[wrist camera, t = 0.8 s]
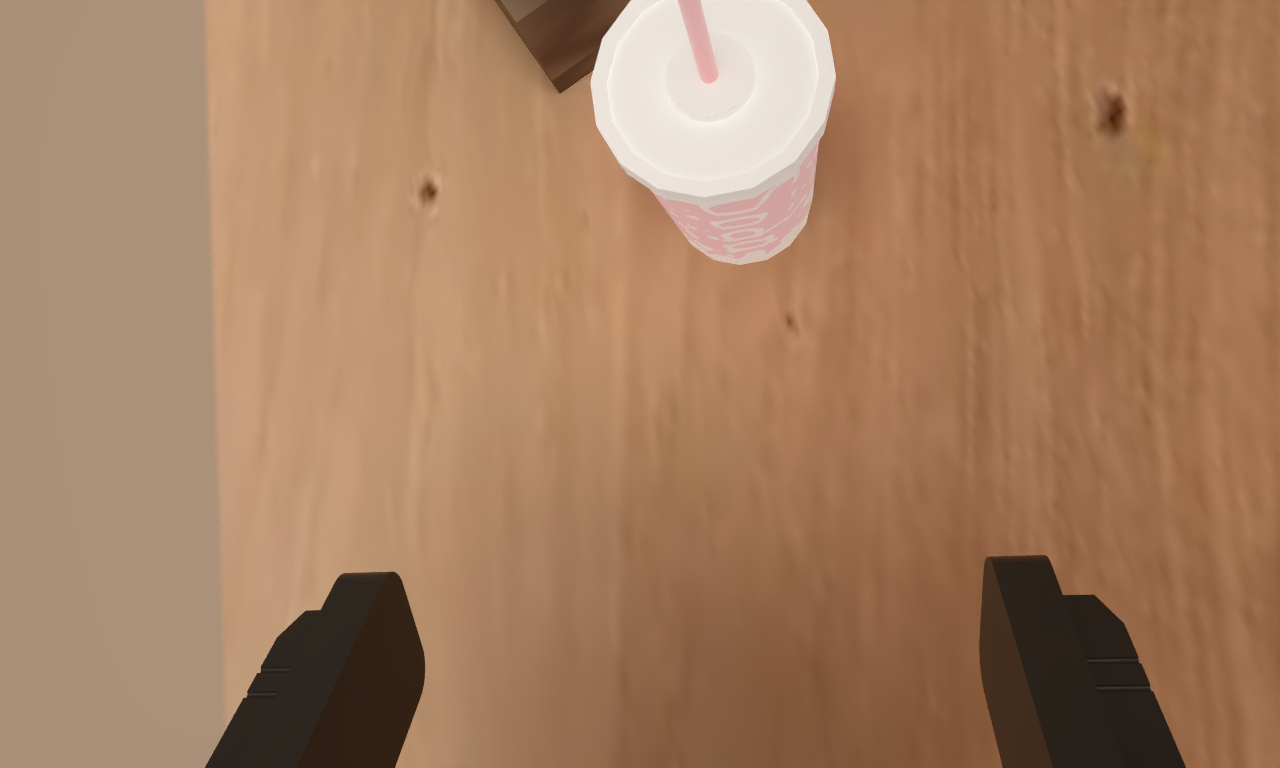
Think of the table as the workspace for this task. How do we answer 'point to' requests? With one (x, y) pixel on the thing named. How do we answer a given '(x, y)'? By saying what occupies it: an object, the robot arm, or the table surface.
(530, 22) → the holder block
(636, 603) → the table surface
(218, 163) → the table surface
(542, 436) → the table surface
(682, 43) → the beverage cup
